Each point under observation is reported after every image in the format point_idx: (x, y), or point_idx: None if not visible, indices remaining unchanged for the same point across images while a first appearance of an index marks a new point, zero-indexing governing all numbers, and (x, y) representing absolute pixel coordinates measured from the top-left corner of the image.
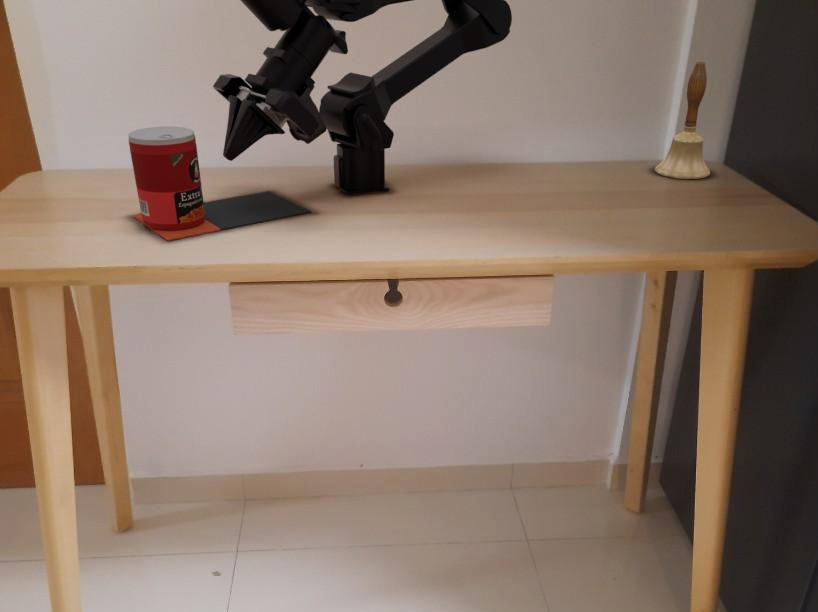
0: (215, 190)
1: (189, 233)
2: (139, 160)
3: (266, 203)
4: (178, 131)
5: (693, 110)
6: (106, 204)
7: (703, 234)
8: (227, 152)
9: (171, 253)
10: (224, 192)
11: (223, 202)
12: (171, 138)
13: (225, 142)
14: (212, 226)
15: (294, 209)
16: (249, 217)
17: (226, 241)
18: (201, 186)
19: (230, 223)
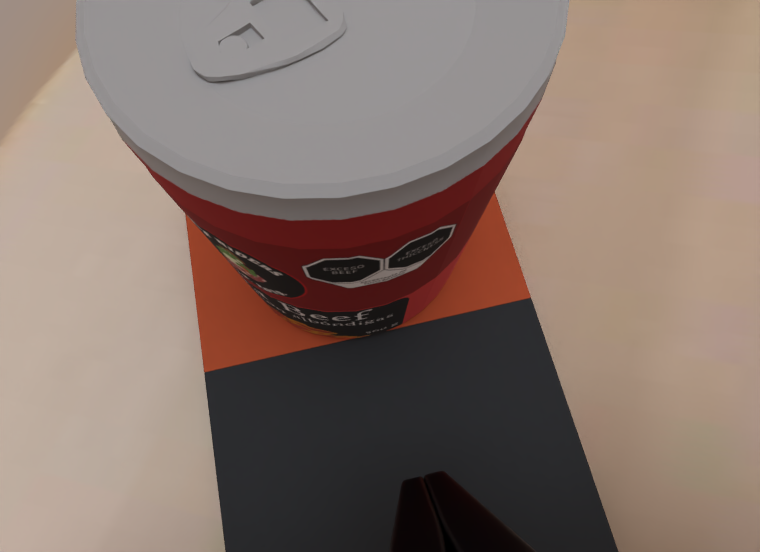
0: (755, 463)
1: (210, 265)
2: None
3: None
4: (421, 110)
5: None
6: (639, 89)
7: None
8: (399, 501)
9: (73, 193)
10: (716, 496)
11: (539, 454)
12: (85, 8)
13: (483, 518)
14: (246, 349)
15: None
16: (291, 511)
17: (86, 366)
18: (322, 315)
19: (251, 419)
